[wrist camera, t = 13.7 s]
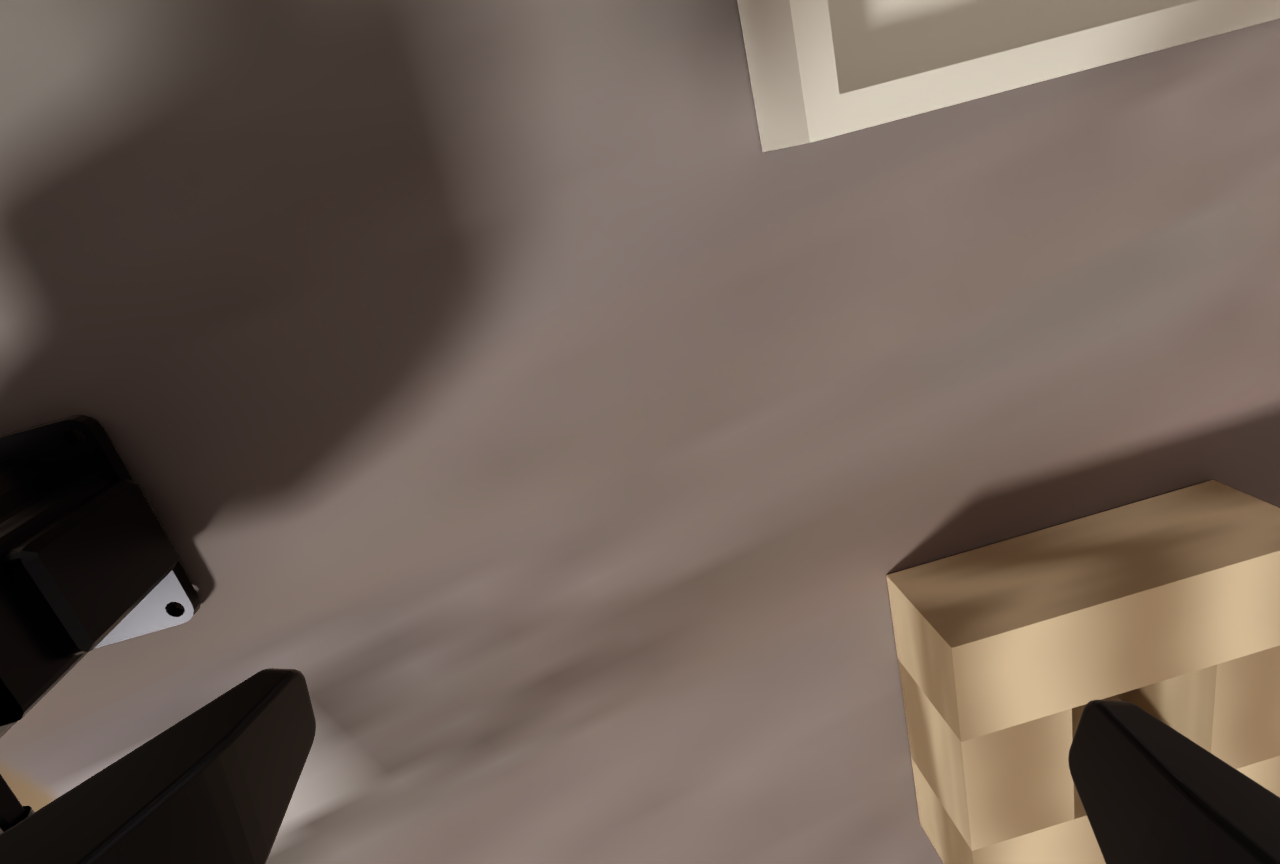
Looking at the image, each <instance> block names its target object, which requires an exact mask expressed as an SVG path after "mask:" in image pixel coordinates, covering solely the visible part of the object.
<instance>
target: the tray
mask: <svg viewBox="0 0 1280 864" xmlns="http://www.w3.org/2000/svg"><path fill="white" fill-rule="evenodd" d="M737 3H738V9H739V15H740V21H741V27H742V33H743V39H744V45H745V51H746V56H747V62H748V68H749V74H750V80H751V86H752V92H753V98H754V104H755V110H756V116H757V122H758V128H759V134H760V140H761V146H762V152H766V151H771V150H776V149H781V148H786V147H791V146H796V145H801V144H807V143H811V142H815V141H819V140H822V139H826V138H830V137H834V136H838V135H841V134H845V133H849V132H853V131H856V130H860V129H864V128H868V127H872V126H875V125H879V124H883V123H887V122H890V121H894V120H898V119H902V118H905V117H909V116H913V115H917V114H921V113H924V112H928V111H932V110H936V109H939V108H943V107H947V106H951V105H954V104H958V103H962V102H966V101H970V100H973V99H977V98H981V97H985V96H988V95H992V94H996V93H1000V92H1003V91H1007V90H1011V89H1015V88H1019V87H1022V86H1026V85H1030V84H1034V83H1037V82H1041V81H1045V80H1049V79H1053V78H1056V77H1060V76H1064V75H1068V74H1071V73H1075V72H1079V71H1083V70H1086V69H1090V68H1094V67H1098V66H1102V65H1105V64H1109V63H1113V62H1117V61H1120V60H1124V59H1128V58H1132V57H1135V56H1139V55H1143V54H1147V53H1151V52H1154V51H1158V50H1162V49H1166V48H1169V47H1173V46H1177V45H1181V44H1184V43H1188V42H1192V41H1196V40H1200V39H1203V38H1207V37H1211V36H1215V35H1218V34H1222V33H1226V32H1230V31H1234V30H1237V29H1241V28H1245V27H1249V26H1252V25H1256V24H1260V23H1264V22H1267V21H1271V20H1275V19H1279V18H1280V0H737Z"/></svg>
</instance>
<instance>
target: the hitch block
mask: <svg viewBox="0 0 1280 864" xmlns="http://www.w3.org/2000/svg"><path fill="white" fill-rule="evenodd" d="M886 576H887V583H888V591H889V598H890V605H891V613H892V620H893V627H894V635H895V642H896V649H897V657H898V664H899V671H900V679H901V686H902V693H903V701H904V708H905V715H906V723H907V730H908V738H909V745H910V752H911V760H912V767H913V774H914V782H915V789H916V796H917V804H918V811H919V818H920V824H921V825H922V827H923V829H924V831H925V832H926V834H927V836H928V837H929V839H930V841H931V842H932V844H933V846H934V847H935V849H936V851H937V852H938V854H939V856H940V857H941V859H942V861H943V862H944V864H1106V863H1105V860H1104V858H1103V855H1102V853H1101V850H1100V848H1099V845H1098V843H1097V840H1096V837H1095V835H1094V832H1093V830H1092V827H1091V825H1090V822H1089V820H1088V817H1087V815H1086V812H1085V810H1084V807H1083V805H1082V802H1081V799H1080V797H1079V794H1078V792H1077V789H1076V787H1075V784H1074V782H1073V779H1072V776H1071V773H1070V769H1069V762H1068V757H1069V750H1070V747H1071V744H1072V741H1073V738H1074V735H1075V732H1076V729H1077V726H1078V723H1079V720H1080V717H1081V714H1082V712H1083V709H1084V707H1085V705H1086V704H1087V703H1088V702H1090V701H1092V700H1118V701H1127V702H1131V703H1133V704H1135V705H1137V706H1139V707H1140V708H1142V709H1143V710H1145V711H1146V712H1148V713H1149V714H1151V715H1153V716H1154V717H1156V718H1157V719H1159V720H1160V721H1162V722H1163V723H1165V724H1167V725H1168V726H1170V727H1171V728H1173V729H1174V730H1176V731H1177V732H1179V733H1181V734H1182V735H1184V736H1185V737H1187V738H1188V739H1190V740H1191V741H1193V742H1195V743H1196V744H1198V745H1199V746H1201V747H1202V748H1204V749H1205V750H1207V751H1208V752H1210V753H1212V754H1213V755H1215V756H1216V757H1218V758H1219V759H1221V760H1222V761H1224V762H1226V763H1227V764H1229V765H1230V766H1232V767H1233V768H1235V769H1236V770H1238V771H1240V772H1241V773H1243V774H1244V775H1246V776H1247V777H1249V778H1250V779H1252V780H1254V781H1255V782H1257V783H1258V784H1260V785H1261V786H1263V787H1264V788H1266V789H1268V790H1269V791H1271V792H1272V793H1274V794H1275V795H1277V796H1278V797H1280V508H1278V507H1276V506H1274V505H1271V504H1269V503H1267V502H1264V501H1262V500H1260V499H1257V498H1255V497H1253V496H1250V495H1248V494H1246V493H1243V492H1241V491H1239V490H1236V489H1234V488H1231V487H1229V486H1227V485H1224V484H1222V483H1220V482H1217V481H1215V480H1210V481H1207V482H1204V483H1200V484H1197V485H1193V486H1190V487H1187V488H1183V489H1180V490H1176V491H1173V492H1169V493H1166V494H1163V495H1159V496H1156V497H1152V498H1149V499H1145V500H1142V501H1139V502H1135V503H1132V504H1128V505H1125V506H1121V507H1118V508H1115V509H1111V510H1108V511H1104V512H1101V513H1097V514H1094V515H1091V516H1087V517H1084V518H1080V519H1077V520H1073V521H1070V522H1067V523H1063V524H1060V525H1056V526H1053V527H1050V528H1046V529H1043V530H1039V531H1036V532H1032V533H1029V534H1026V535H1022V536H1019V537H1015V538H1012V539H1008V540H1005V541H1002V542H998V543H995V544H991V545H988V546H984V547H981V548H978V549H974V550H971V551H967V552H964V553H960V554H957V555H954V556H950V557H947V558H943V559H940V560H937V561H933V562H930V563H926V564H923V565H919V566H916V567H913V568H909V569H906V570H902V571H899V572H895V573H892V574H889V575H886Z"/></svg>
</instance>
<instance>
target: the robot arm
mask: <svg viewBox="0 0 1280 864" xmlns="http://www.w3.org/2000/svg"><path fill="white" fill-rule="evenodd" d="M74 429H77V430H79V431H81V432H82V433H83V434H84V435H85V439H86V440H85V442H83V441H81V440H79V439H78V438H77V437H76V436H75V435H74V431H73V430H74ZM173 602H178V603H180V604H181V605H182V606H183V607H184V609H179V608H177V607H176V606H175V605H174V604H173ZM199 608H200V600H199V597H198V595H197V593H196V591H195V590H194V588H193V586H192V584H191V582H190V581H189V579H188V577H187V575H186V574H185V572H184V570H183V568H182V567H181V565H180V563H179V561H178V555H177V554H176V552H175V550H174V548H173V547H172V545H171V543H170V541H169V539H168V538H167V536H166V534H165V532H164V531H163V529H162V527H161V525H160V524H159V522H158V520H157V518H156V516H155V515H154V513H153V511H152V509H151V508H150V506H149V504H148V502H147V501H146V499H145V497H144V495H143V493H142V492H141V490H140V488H139V486H138V485H137V484H135V483H134V482H133V480H132V478H131V477H130V475H129V473H128V471H127V469H126V468H125V466H124V464H123V462H122V461H121V459H120V457H119V455H118V454H117V452H116V450H115V448H114V446H113V445H112V443H111V441H110V439H109V438H108V436H107V434H106V432H105V431H104V429H103V427H102V426H101V425H100V424H99V422H98V421H96V420H94V419H93V418H91V417H88V416H84V415H76V416H71V417H67V418H64V419H60V420H56V421H53V422H49V423H45V424H41V425H38V426H34V427H30V428H27V429H23V430H19V431H15V432H12V433H8V434H4V435H1V436H0V738H1V737H2V736H3V735H4V734H5V733H6V732H7V731H8V730H9V729H10V728H11V727H12V726H13V725H14V724H15V723H16V722H17V721H18V720H20V719H22V718H23V717H24V716H25V715H26V714H27V713H28V712H29V711H30V710H31V709H32V708H33V707H34V706H35V705H36V704H37V703H38V702H39V701H40V700H41V699H42V698H43V697H44V696H45V695H46V694H47V693H48V692H49V691H50V690H51V689H52V688H53V687H54V686H55V685H56V684H57V683H58V682H59V681H60V680H61V679H62V678H63V677H64V676H65V675H66V674H67V673H68V672H69V671H70V670H71V669H72V668H73V667H74V666H75V665H76V664H77V663H78V662H79V661H80V660H81V659H82V658H83V657H84V656H85V655H86V654H87V653H88V652H89V651H91V650H93V649H95V648H98V647H102V646H105V645H109V644H112V643H116V642H119V641H123V640H126V639H130V638H134V637H137V636H141V635H144V634H148V633H151V632H155V631H158V630H162V629H165V628H169V627H172V626H176V625H179V624H183V623H185V622H187V621H189V620H190V619H191V618H192V616H193V615H194V614H195V613H196V612H197V610H198V609H199ZM315 730H316V723H315V717H314V713H313V709H312V705H311V700H310V696H309V692H308V688H307V684H306V680H305V677H304V675H303V674H302V673H301V672H300V671H298V670H295V669H265V670H262V671H260V672H258V673H256V674H255V675H253V676H252V677H250V678H248V679H247V680H245V681H244V682H242V683H240V684H239V685H237V686H236V687H234V688H232V689H231V690H229V691H228V692H226V693H224V694H223V695H221V696H220V697H218V698H216V699H215V700H213V701H212V702H210V703H209V704H207V705H205V706H204V707H202V708H201V709H199V710H197V711H196V712H194V713H193V714H191V715H189V716H188V717H186V718H185V719H183V720H181V721H180V722H178V723H177V724H175V725H173V726H172V727H170V728H169V729H167V730H166V731H164V732H162V733H161V734H159V735H158V736H156V737H154V738H153V739H151V740H150V741H148V742H146V743H145V744H143V745H142V746H140V747H138V748H137V749H135V750H134V751H132V752H131V753H129V754H127V755H126V756H124V757H123V758H121V759H119V760H118V761H116V762H115V763H113V764H111V765H110V766H108V767H107V768H105V769H103V770H102V771H100V772H99V773H97V774H95V775H94V776H92V777H91V778H89V779H88V780H86V781H84V782H83V783H81V784H80V785H78V786H76V787H75V788H73V789H72V790H70V791H68V792H67V793H65V794H64V795H62V796H60V797H59V798H57V799H56V800H54V801H53V802H51V803H49V804H48V805H46V806H45V807H43V808H41V809H40V810H38V811H37V812H35V813H34V811H33V810H32V808H31V807H30V806H22V805H21V804H20V802H19V801H18V799H17V798H16V796H15V795H14V793H13V792H12V790H11V789H10V787H9V786H8V785H7V783H6V782H5V780H4V779H3V777H2V776H1V774H0V864H265V863H266V861H267V859H268V856H269V854H270V851H271V849H272V846H273V844H274V841H275V839H276V836H277V833H278V831H279V828H280V826H281V823H282V821H283V818H284V816H285V813H286V810H287V808H288V805H289V803H290V800H291V798H292V795H293V793H294V790H295V787H296V785H297V782H298V780H299V777H300V775H301V772H302V770H303V767H304V764H305V762H306V759H307V757H308V754H309V752H310V749H311V746H312V744H313V741H314V736H315ZM1068 762H1069V769H1070V773H1071V776H1072V779H1073V782H1074V784H1075V787H1076V789H1077V792H1078V794H1079V797H1080V799H1081V802H1082V805H1083V807H1084V810H1085V812H1086V815H1087V817H1088V820H1089V822H1090V825H1091V827H1092V830H1093V832H1094V835H1095V837H1096V840H1097V843H1098V845H1099V848H1100V850H1101V853H1102V855H1103V858H1104V860H1105V863H1106V864H1280V797H1278V796H1277V795H1275V794H1274V793H1272V792H1271V791H1269V790H1268V789H1266V788H1264V787H1263V786H1261V785H1260V784H1258V783H1257V782H1255V781H1254V780H1252V779H1250V778H1249V777H1247V776H1246V775H1244V774H1243V773H1241V772H1240V771H1238V770H1236V769H1235V768H1233V767H1232V766H1230V765H1229V764H1227V763H1226V762H1224V761H1222V760H1221V759H1219V758H1218V757H1216V756H1215V755H1213V754H1212V753H1210V752H1208V751H1207V750H1205V749H1204V748H1202V747H1201V746H1199V745H1198V744H1196V743H1195V742H1193V741H1191V740H1190V739H1188V738H1187V737H1185V736H1184V735H1182V734H1181V733H1179V732H1177V731H1176V730H1174V729H1173V728H1171V727H1170V726H1168V725H1167V724H1165V723H1163V722H1162V721H1160V720H1159V719H1157V718H1156V717H1154V716H1153V715H1151V714H1149V713H1148V712H1146V711H1145V710H1143V709H1142V708H1140V707H1139V706H1137V705H1135V704H1133V703H1131V702H1127V701H1118V700H1092V701H1090V702H1088V703H1087V704H1086V705H1085V707H1084V709H1083V712H1082V714H1081V717H1080V720H1079V723H1078V726H1077V729H1076V732H1075V735H1074V738H1073V741H1072V744H1071V747H1070V750H1069V757H1068Z"/></svg>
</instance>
